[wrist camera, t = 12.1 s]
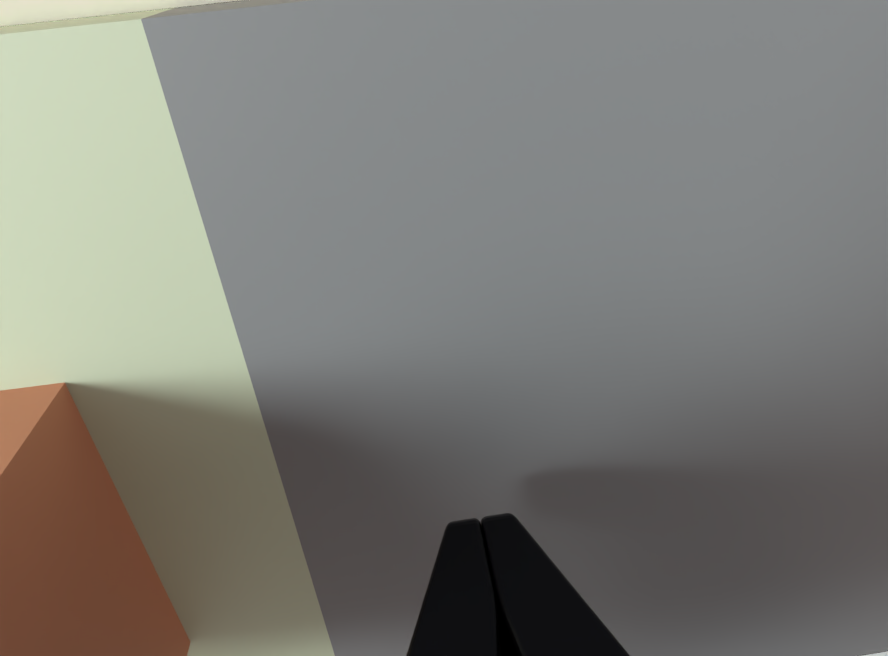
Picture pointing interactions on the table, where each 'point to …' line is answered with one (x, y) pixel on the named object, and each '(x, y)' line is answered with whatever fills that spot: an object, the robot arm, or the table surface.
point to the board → (469, 304)
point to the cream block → (71, 543)
